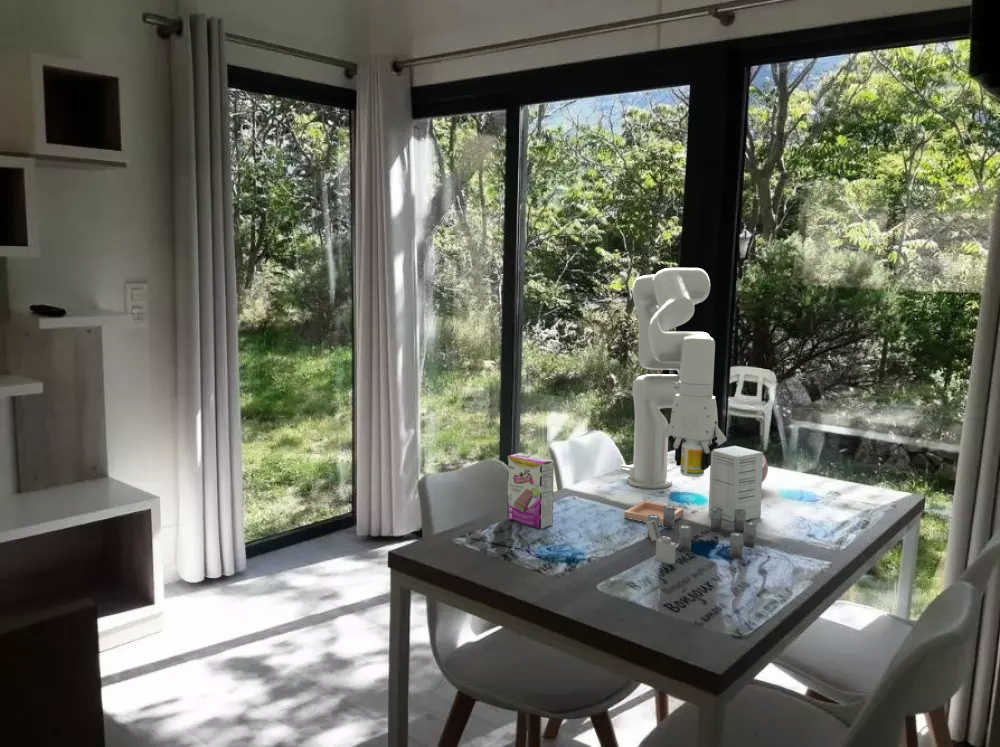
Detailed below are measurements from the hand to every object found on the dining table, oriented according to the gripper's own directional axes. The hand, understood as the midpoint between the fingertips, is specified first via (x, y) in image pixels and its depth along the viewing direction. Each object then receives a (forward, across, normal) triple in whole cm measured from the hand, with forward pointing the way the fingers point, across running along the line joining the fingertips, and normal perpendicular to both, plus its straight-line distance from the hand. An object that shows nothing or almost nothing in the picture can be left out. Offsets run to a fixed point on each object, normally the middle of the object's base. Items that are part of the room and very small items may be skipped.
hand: (692, 465), depth 191 cm
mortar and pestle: (+18, -2, +46) cm, 50 cm away
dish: (+17, -12, +8) cm, 22 cm away
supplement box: (+17, +4, +20) cm, 27 cm away
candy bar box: (+17, -35, -14) cm, 42 cm away
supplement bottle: (+2, 0, 0) cm, 2 cm away
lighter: (+17, 0, -19) cm, 25 cm away
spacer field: (+17, +4, 0) cm, 17 cm away
